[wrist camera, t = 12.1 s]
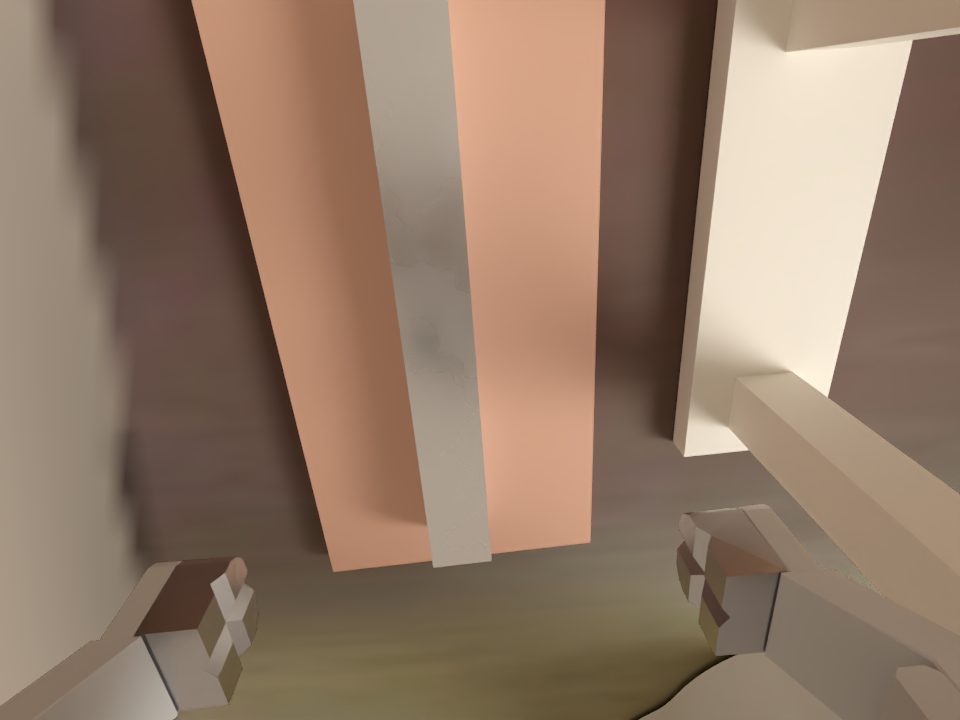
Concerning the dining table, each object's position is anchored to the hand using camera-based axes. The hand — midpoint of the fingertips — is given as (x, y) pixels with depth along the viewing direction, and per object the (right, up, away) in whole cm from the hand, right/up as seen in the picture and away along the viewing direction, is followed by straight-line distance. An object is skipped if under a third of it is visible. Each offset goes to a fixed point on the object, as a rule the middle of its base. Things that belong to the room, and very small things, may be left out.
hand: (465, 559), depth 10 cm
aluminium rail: (-1, +5, +10) cm, 11 cm away
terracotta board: (-1, +6, +11) cm, 12 cm away
